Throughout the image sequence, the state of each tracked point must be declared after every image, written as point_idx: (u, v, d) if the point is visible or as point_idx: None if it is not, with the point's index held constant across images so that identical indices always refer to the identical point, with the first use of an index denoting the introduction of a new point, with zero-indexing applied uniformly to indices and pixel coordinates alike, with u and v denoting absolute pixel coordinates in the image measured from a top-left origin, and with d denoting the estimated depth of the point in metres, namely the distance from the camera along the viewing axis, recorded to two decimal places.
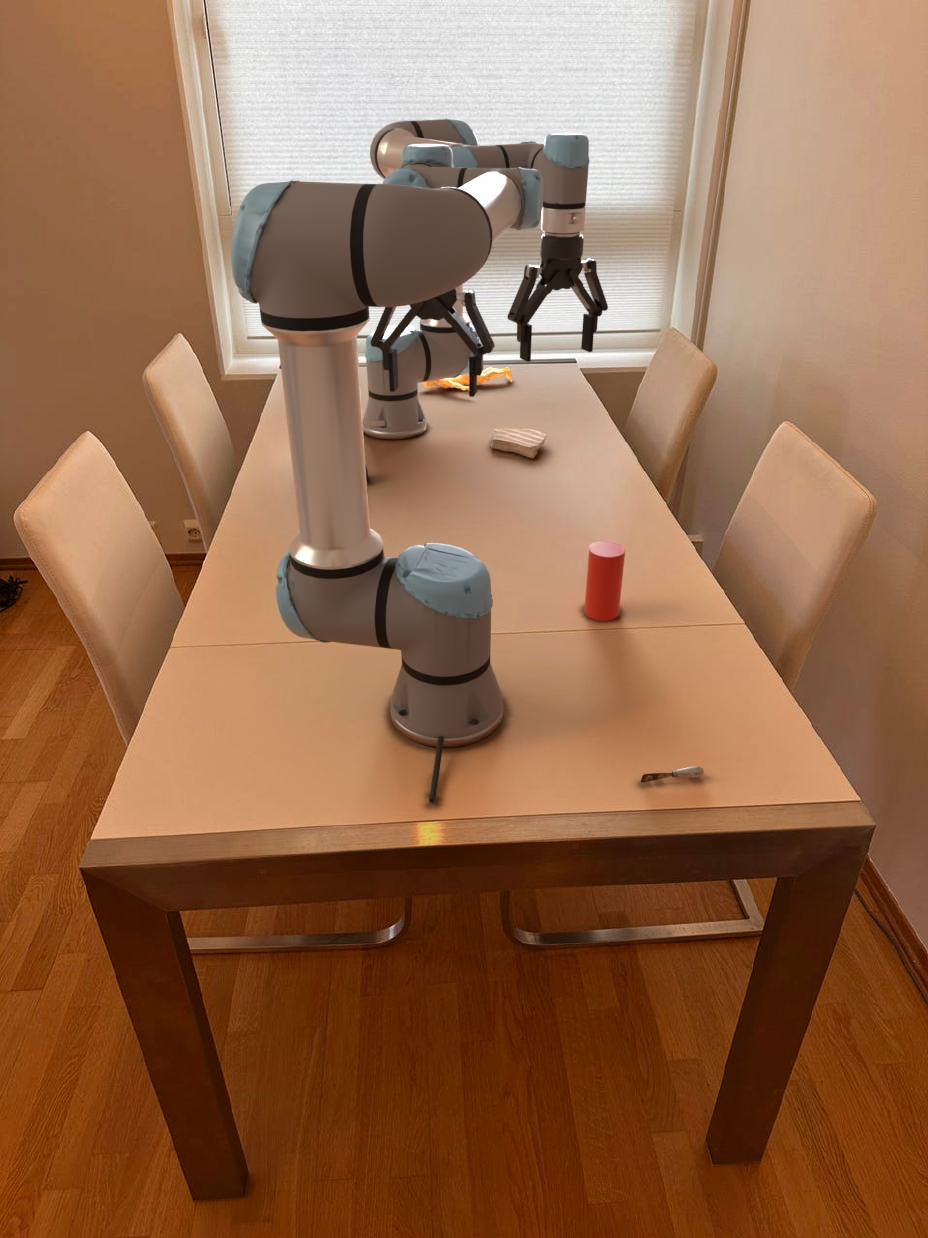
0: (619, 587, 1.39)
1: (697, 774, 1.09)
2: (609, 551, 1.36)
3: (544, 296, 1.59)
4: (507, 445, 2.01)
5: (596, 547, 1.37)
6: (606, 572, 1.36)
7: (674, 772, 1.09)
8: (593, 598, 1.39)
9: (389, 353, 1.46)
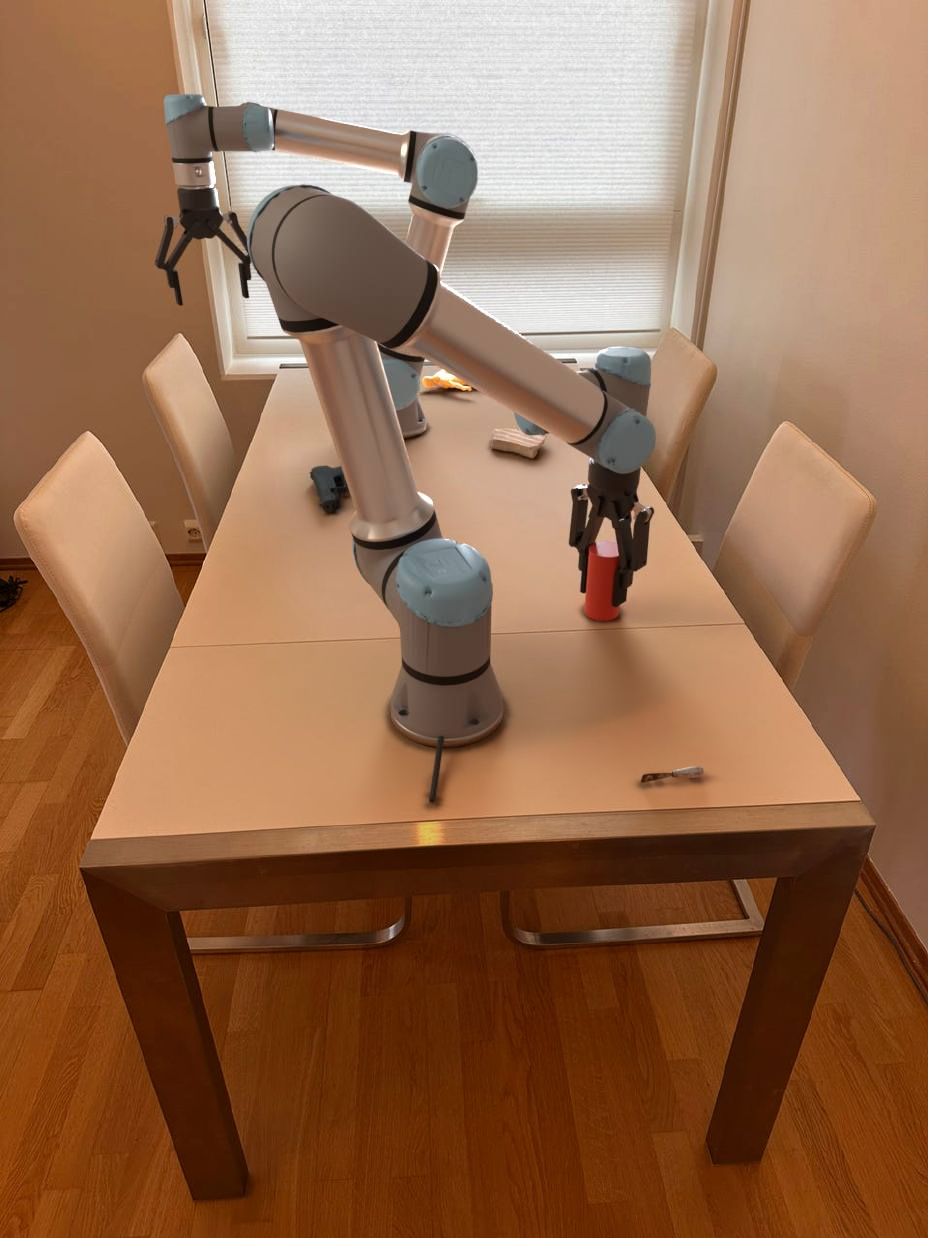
0: None
1: (697, 774, 1.09)
2: (609, 551, 1.36)
3: (186, 244, 1.75)
4: (507, 445, 2.01)
5: (596, 547, 1.37)
6: (606, 572, 1.36)
7: (674, 772, 1.09)
8: (593, 598, 1.39)
9: (583, 557, 1.39)
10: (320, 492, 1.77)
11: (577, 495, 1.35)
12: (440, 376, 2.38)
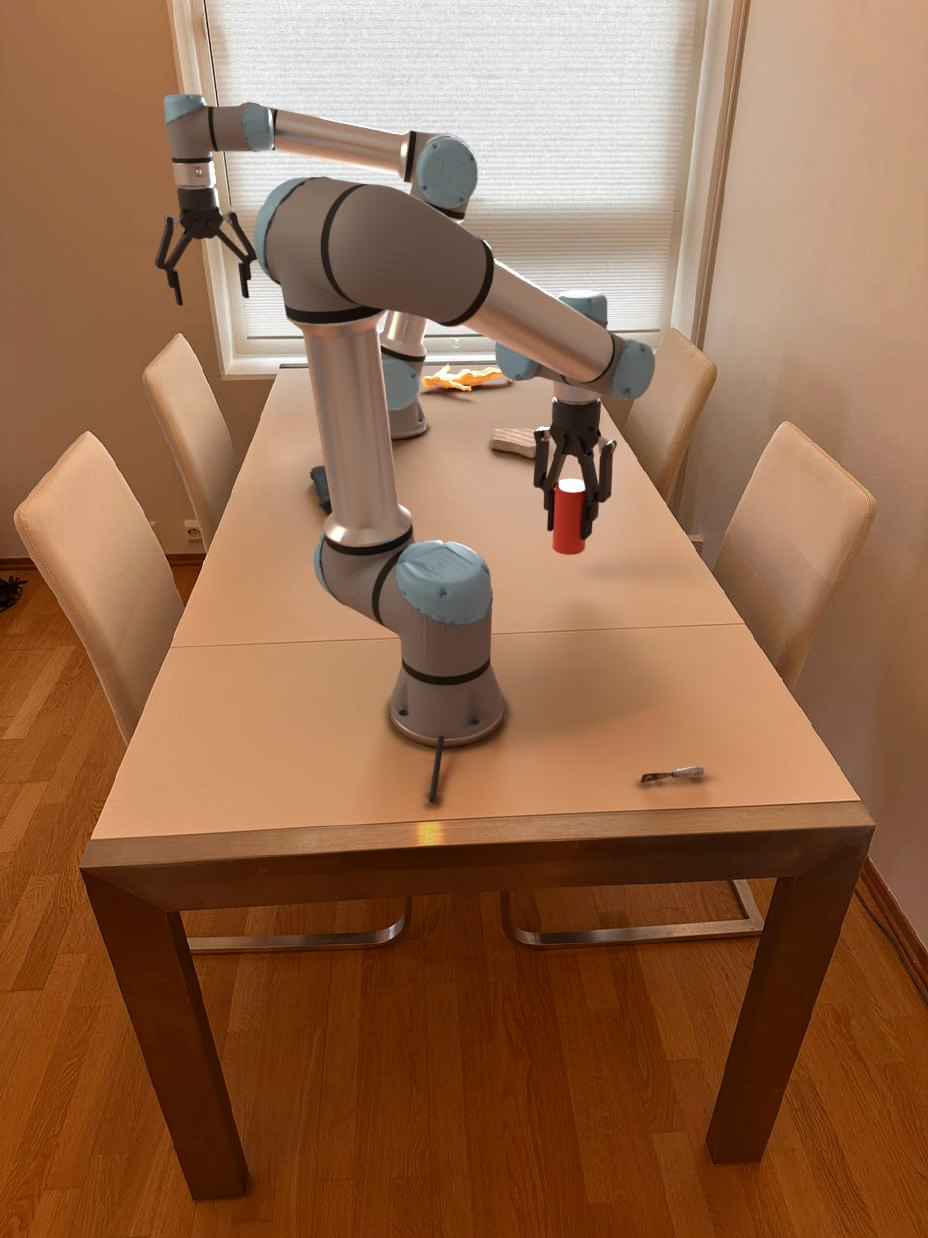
0: None
1: (697, 774, 1.09)
2: (575, 487, 1.45)
3: (186, 244, 1.75)
4: (507, 445, 2.01)
5: (561, 485, 1.45)
6: (574, 507, 1.44)
7: (674, 772, 1.09)
8: (563, 533, 1.47)
9: (549, 496, 1.47)
10: (320, 492, 1.77)
11: (540, 437, 1.43)
12: (440, 376, 2.38)
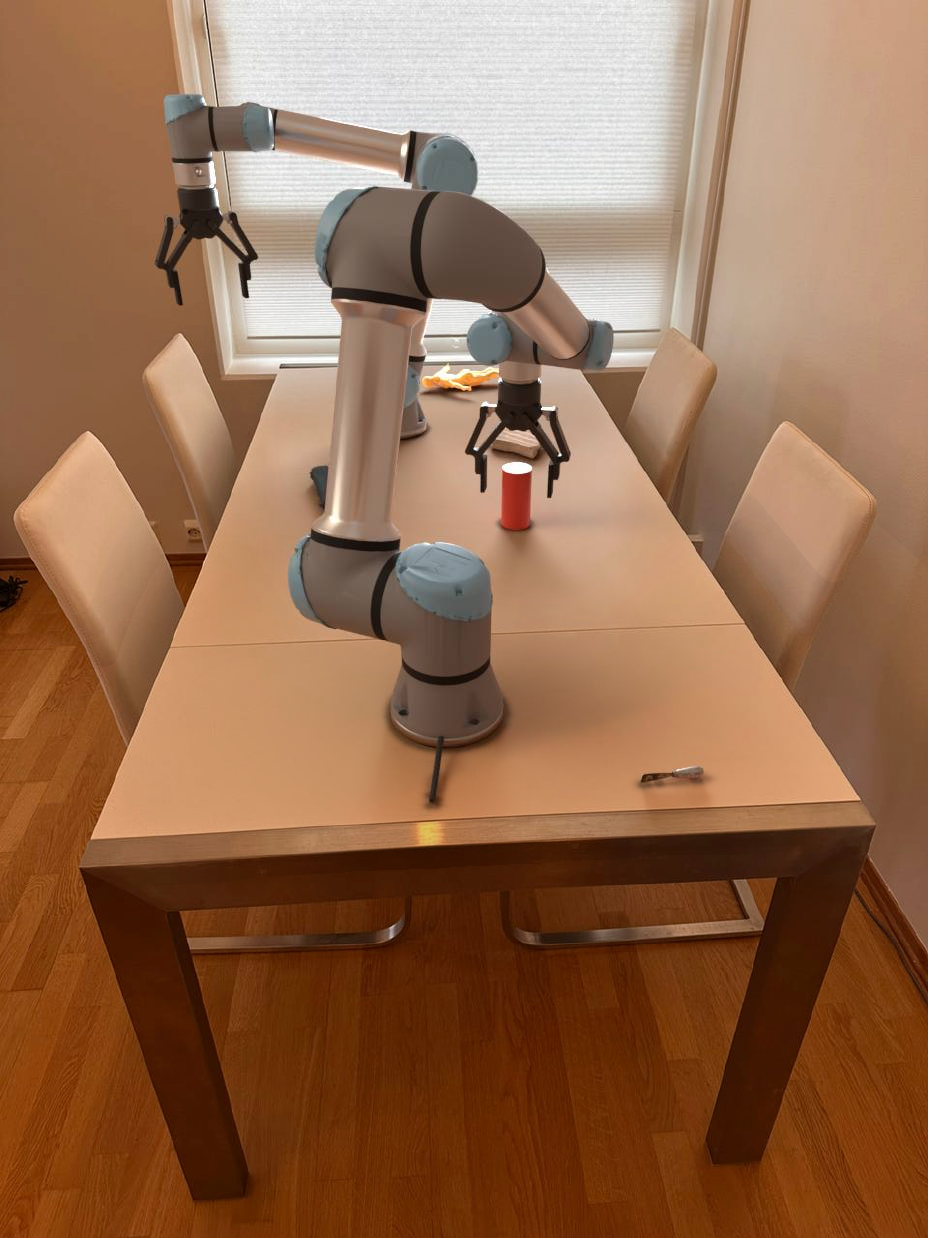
0: (530, 497, 1.67)
1: (697, 774, 1.09)
2: (520, 469, 1.64)
3: (186, 244, 1.75)
4: (507, 445, 2.01)
5: (508, 468, 1.64)
6: (523, 486, 1.64)
7: (674, 772, 1.09)
8: (514, 511, 1.66)
9: (481, 460, 1.64)
10: (320, 492, 1.77)
11: (486, 412, 1.59)
12: (440, 376, 2.38)
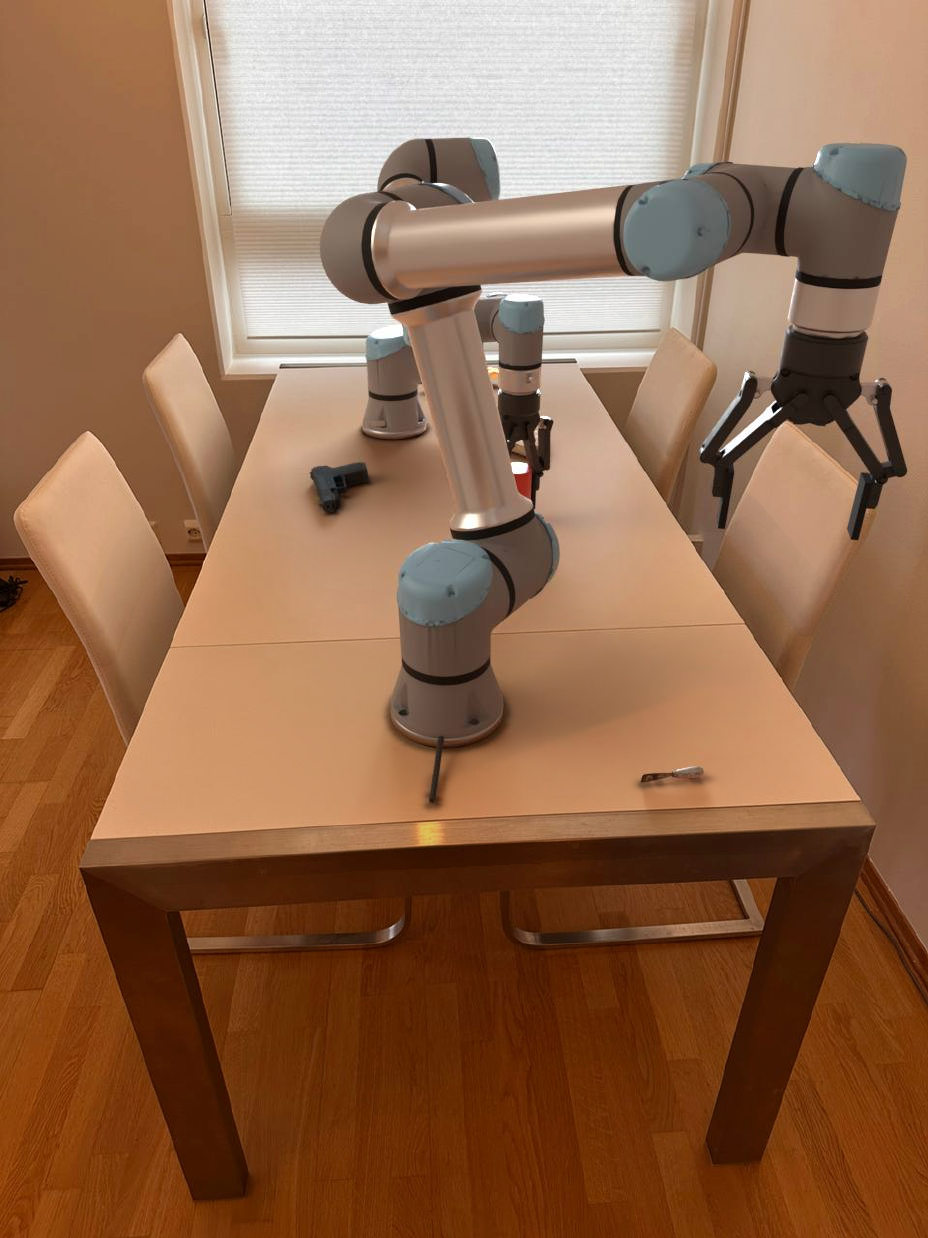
0: (530, 497, 1.67)
1: (697, 774, 1.09)
2: (520, 469, 1.64)
3: (510, 451, 1.61)
4: None
5: None
6: (523, 486, 1.64)
7: (674, 772, 1.09)
8: None
9: (729, 473, 0.93)
10: (320, 492, 1.77)
11: (755, 389, 0.88)
12: None
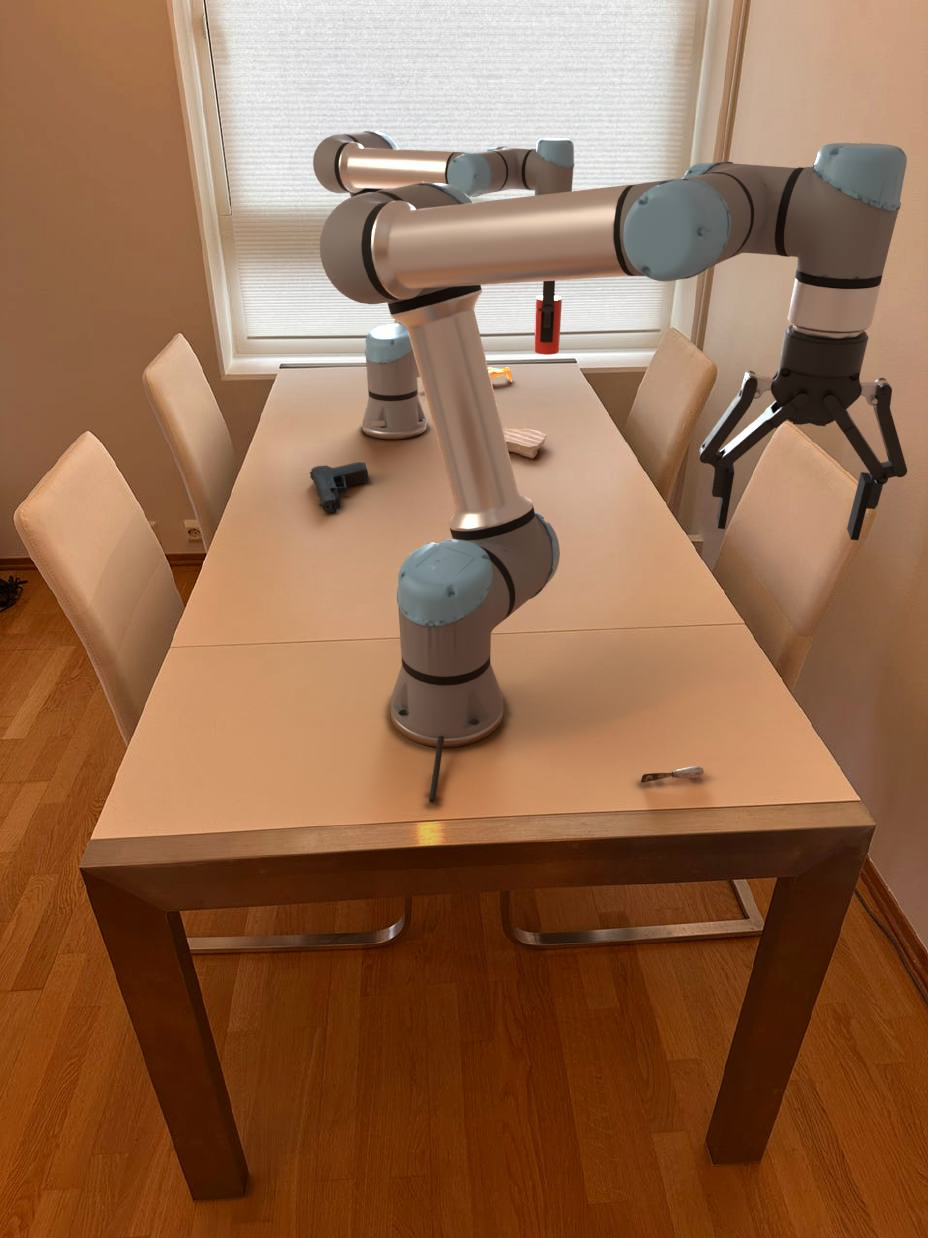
0: None
1: (697, 774, 1.09)
2: None
3: None
4: (507, 445, 2.01)
5: None
6: None
7: (674, 772, 1.09)
8: (557, 335, 1.94)
9: (729, 473, 0.93)
10: (320, 492, 1.77)
11: (755, 389, 0.88)
12: None
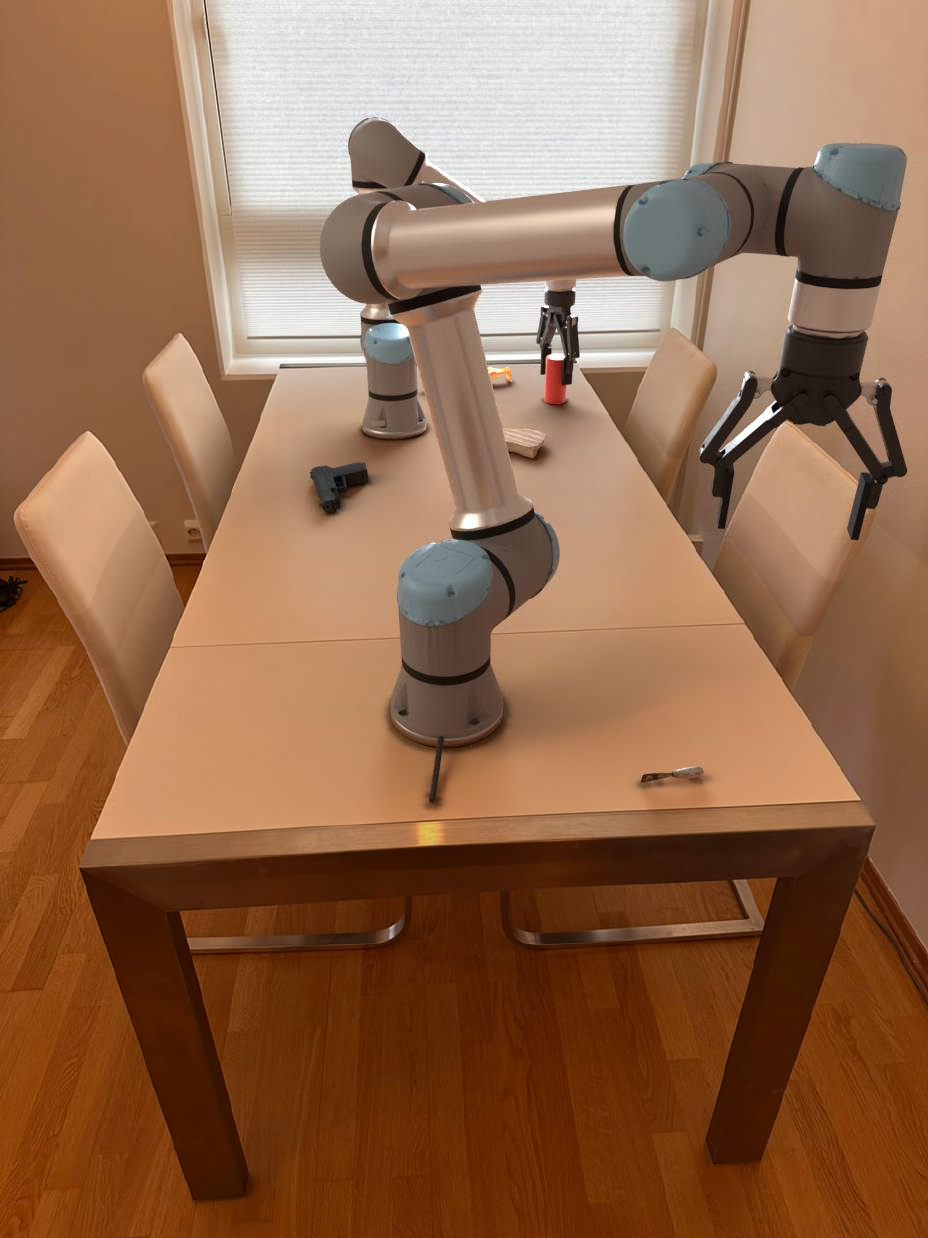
0: None
1: (697, 774, 1.09)
2: (559, 356, 2.26)
3: None
4: (507, 445, 2.01)
5: (559, 358, 2.25)
6: None
7: (674, 772, 1.09)
8: None
9: (729, 473, 0.93)
10: (320, 492, 1.77)
11: (755, 389, 0.88)
12: None
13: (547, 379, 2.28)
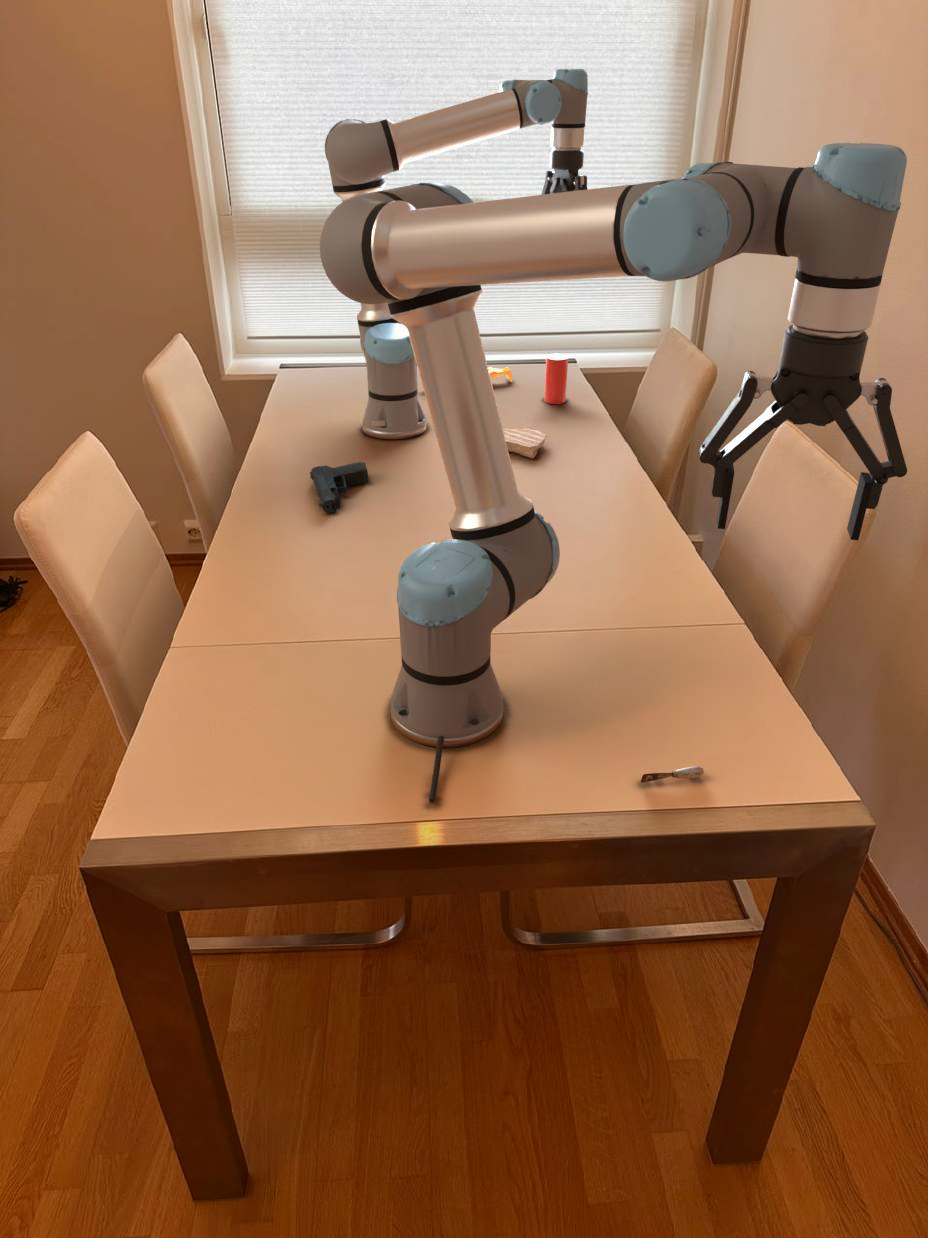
0: None
1: (697, 774, 1.09)
2: (559, 356, 2.26)
3: None
4: (507, 445, 2.01)
5: (559, 358, 2.25)
6: None
7: (674, 772, 1.09)
8: None
9: (729, 473, 0.93)
10: (320, 492, 1.77)
11: (755, 389, 0.88)
12: None
13: (547, 379, 2.28)
